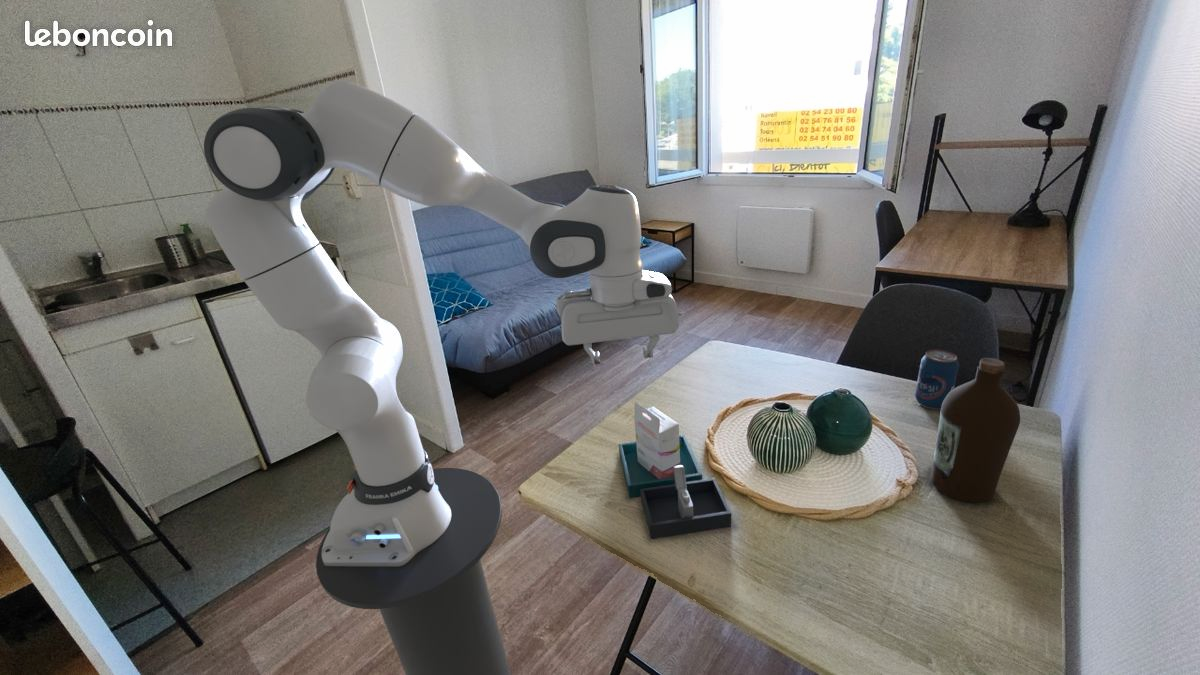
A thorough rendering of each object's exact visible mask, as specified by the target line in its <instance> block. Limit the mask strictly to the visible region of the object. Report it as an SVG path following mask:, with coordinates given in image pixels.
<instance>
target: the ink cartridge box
mask: <svg viewBox="0 0 1200 675" xmlns="http://www.w3.org/2000/svg"><path fill="white" fill-rule="evenodd" d="M633 416H634V419H633V420H634V429H635V430H634V432H635V442H636V444H637V457H638V463H640V464H641V465H642V466H643V467H644V468H646V469H647V470H648V471H649V472H650V473H652V474H653V475H654V476H655V477H656V478H658V479H664V478H671V477H674V470H673V467H674V466H678V465H680V445H679V435H680V424H679V423H678V422H676V421H675V420H674V419H672V418H670V417H669V416H668V415H666V414H664V413H663V412H662V411H660V410H659V409H658V408H656V407H654V406H650V407H648V408H646V407H644V406H643V405H641V404H640V403H639V402H637V401H634V414H633Z"/></svg>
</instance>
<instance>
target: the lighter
mask: <svg viewBox="0 0 1200 675" xmlns="http://www.w3.org/2000/svg"><path fill="white" fill-rule="evenodd" d="M673 470H674V478H675V485H676V489H677V490H678V510H679V513H680V516H681V519H682V518H688V517H693V504H692V501H691V498H690V496H689V493H688V491H687V490H686V489H687V485H686V478H685V470H684V467H683V466H682V465H678V466H674V467H673Z"/></svg>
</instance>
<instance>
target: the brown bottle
mask: <svg viewBox="0 0 1200 675" xmlns="http://www.w3.org/2000/svg"><path fill="white" fill-rule="evenodd" d="M1005 366H1006V364H1005V362H1004V361H1002V360H1000V359H998V358H992V357H983V358H981V359H980V360H979V365H978V366H977V367H976V373H975V378H973V379H972V380H970V381H967V382H965V383H962V384H961V385H958V386H956V387H954V389H953V390H952V391H950V392H949V393H948V395H947V396H946V398H945V399H944V401H943V403H942V406H941V409H940V413H939V418H938V427H937V434H936V439H935V445H934V446H935V447H934V453H933V460H932V465H931V471H930V481H931V483H932V484H933V486H934V487H935V488H936V489H937V490H938V491H940V492H941V493H942V494H944V495H945V496H948V497H950V498H953V499H955V500H957V501H961V502H965V503H973V504H975V503H976V504H977V503H984V502H988V501H989V500H991V499H992V498H993V497H994V495H995V493H996V489H997V485H998V484H999V481H1000V479H1001V475H1002V472H1003V469H1004V466H1005V464H1006V461H1007V458H1008V455H1009V453H1010V450H1011V448H1012V445H1013V442H1014V439H1015V438H1016V435H1017V432H1018V430H1019V428H1020V424H1021V413H1020V412H1021V411H1020V408H1019V405H1018V403H1017V401H1016V400H1015V399H1014V397H1012V395H1011V394H1010V393H1009V392H1008V391H1007V390H1006V389H1005V388H1004V386H1002V384H1001V383H1002V379H1003V376H1004V373H1005V372H1004V369H1005Z"/></svg>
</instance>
